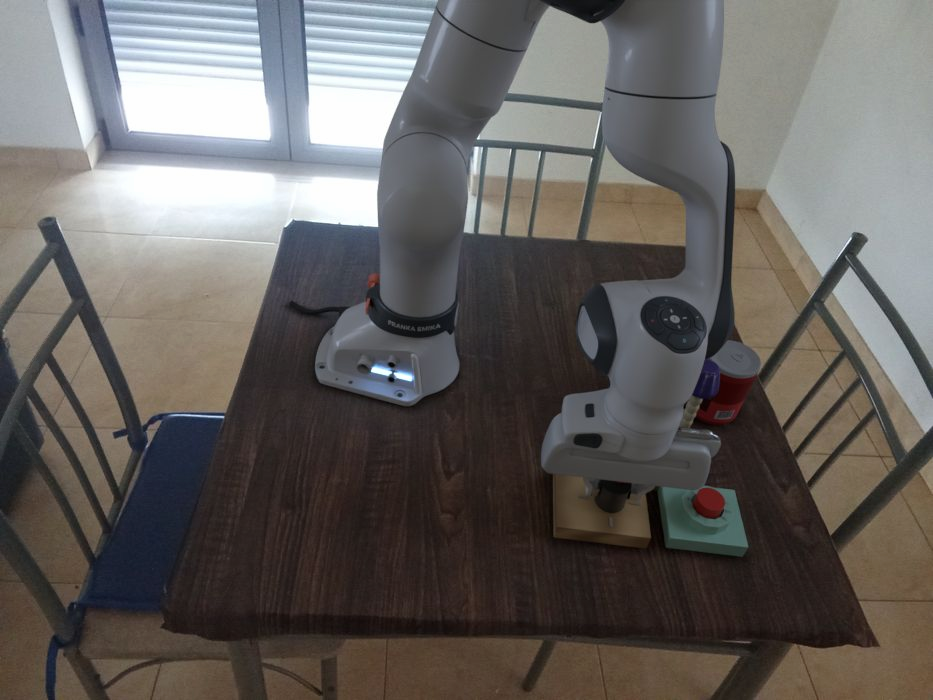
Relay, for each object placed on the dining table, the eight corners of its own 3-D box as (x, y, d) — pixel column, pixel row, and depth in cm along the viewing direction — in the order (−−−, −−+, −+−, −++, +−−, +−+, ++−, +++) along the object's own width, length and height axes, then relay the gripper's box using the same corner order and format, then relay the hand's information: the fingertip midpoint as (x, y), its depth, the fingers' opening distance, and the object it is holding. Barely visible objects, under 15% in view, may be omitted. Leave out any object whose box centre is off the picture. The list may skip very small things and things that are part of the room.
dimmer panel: (553, 537, 91) (556, 526, 90) (552, 475, 99) (556, 463, 97) (646, 549, 91) (651, 537, 89) (638, 486, 99) (643, 474, 97)
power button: (695, 516, 91) (699, 508, 90) (690, 493, 94) (694, 485, 93) (723, 520, 91) (727, 512, 90) (718, 497, 94) (722, 489, 93)
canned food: (744, 408, 112) (770, 357, 104) (721, 435, 107) (746, 383, 100) (701, 383, 115) (723, 332, 108) (676, 407, 111) (698, 356, 103)
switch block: (665, 547, 92) (673, 530, 89) (657, 491, 98) (664, 473, 96) (742, 557, 92) (753, 539, 89) (729, 499, 98) (738, 482, 96)
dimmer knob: (598, 513, 92) (605, 493, 89) (591, 488, 94) (597, 468, 92) (628, 512, 92) (636, 492, 89) (620, 487, 95) (627, 467, 92)
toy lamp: (690, 462, 103) (728, 381, 91) (658, 456, 103) (692, 373, 92) (689, 438, 106) (726, 356, 95) (658, 431, 107) (691, 349, 95)
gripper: (721, 413, 85) (687, 484, 95) (551, 393, 85) (534, 466, 95) (731, 454, 81) (695, 524, 90) (551, 433, 81) (534, 505, 90)
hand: (611, 494), depth 92 cm, fingers closed on dimmer knob, 4 cm apart
